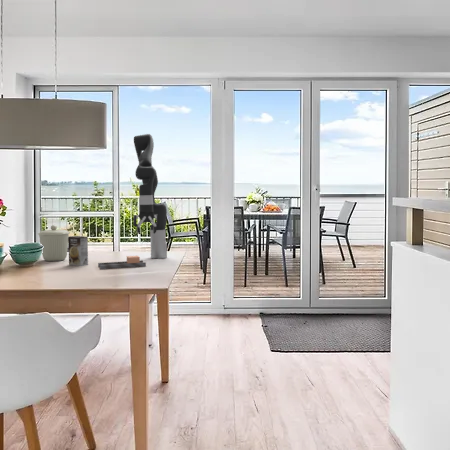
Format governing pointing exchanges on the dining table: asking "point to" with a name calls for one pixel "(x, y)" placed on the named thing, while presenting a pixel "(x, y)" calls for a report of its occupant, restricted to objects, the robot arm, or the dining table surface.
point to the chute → (120, 265)
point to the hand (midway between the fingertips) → (146, 233)
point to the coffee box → (78, 250)
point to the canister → (54, 244)
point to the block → (133, 259)
